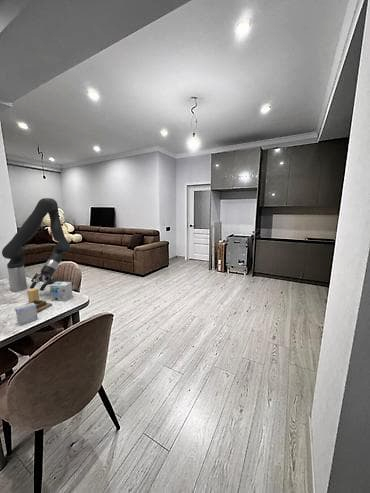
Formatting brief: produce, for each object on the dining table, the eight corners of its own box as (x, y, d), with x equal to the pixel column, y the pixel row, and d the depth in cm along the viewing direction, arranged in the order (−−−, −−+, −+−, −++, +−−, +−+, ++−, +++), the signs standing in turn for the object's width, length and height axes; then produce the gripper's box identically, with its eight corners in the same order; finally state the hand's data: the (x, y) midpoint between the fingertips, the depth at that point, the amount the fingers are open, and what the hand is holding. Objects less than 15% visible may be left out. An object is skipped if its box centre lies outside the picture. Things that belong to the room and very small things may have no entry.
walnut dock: (17, 312, 114) (16, 306, 114) (37, 302, 126) (36, 297, 125) (33, 315, 111) (32, 309, 111) (52, 305, 123) (51, 300, 122)
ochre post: (28, 302, 126) (27, 290, 125) (35, 299, 130) (33, 288, 129) (33, 303, 125) (31, 291, 124) (39, 300, 129) (38, 288, 128)
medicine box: (35, 316, 110) (33, 302, 108) (38, 319, 107) (35, 304, 106) (17, 322, 104) (14, 307, 102) (19, 325, 101) (17, 310, 100)
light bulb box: (51, 300, 129) (49, 285, 127) (57, 296, 135) (56, 281, 133) (67, 301, 128) (65, 285, 126) (73, 296, 135) (71, 281, 133)
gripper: (37, 264, 136) (22, 285, 127) (54, 265, 132) (39, 288, 123) (46, 269, 142) (32, 290, 133) (62, 271, 138) (48, 293, 129)
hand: (36, 289), depth 128 cm, fingers open, 8 cm apart
